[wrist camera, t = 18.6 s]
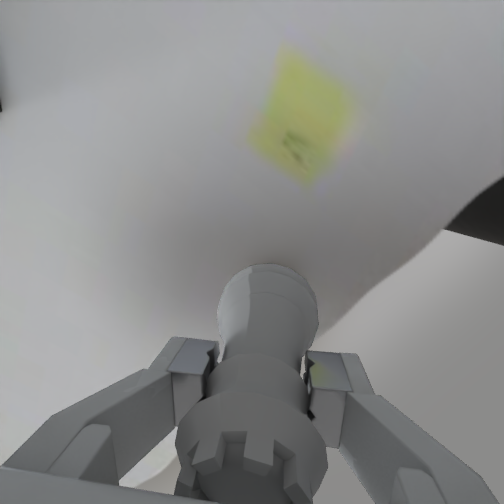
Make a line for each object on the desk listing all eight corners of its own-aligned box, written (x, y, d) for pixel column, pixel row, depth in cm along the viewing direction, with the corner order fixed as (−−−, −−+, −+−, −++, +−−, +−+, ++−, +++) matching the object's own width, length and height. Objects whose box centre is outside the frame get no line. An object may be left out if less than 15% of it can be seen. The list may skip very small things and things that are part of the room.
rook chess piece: (208, 276, 12) (79, 433, 5) (299, 246, 11) (331, 381, 4) (241, 354, 13) (181, 598, 5) (328, 333, 12) (403, 587, 5)
